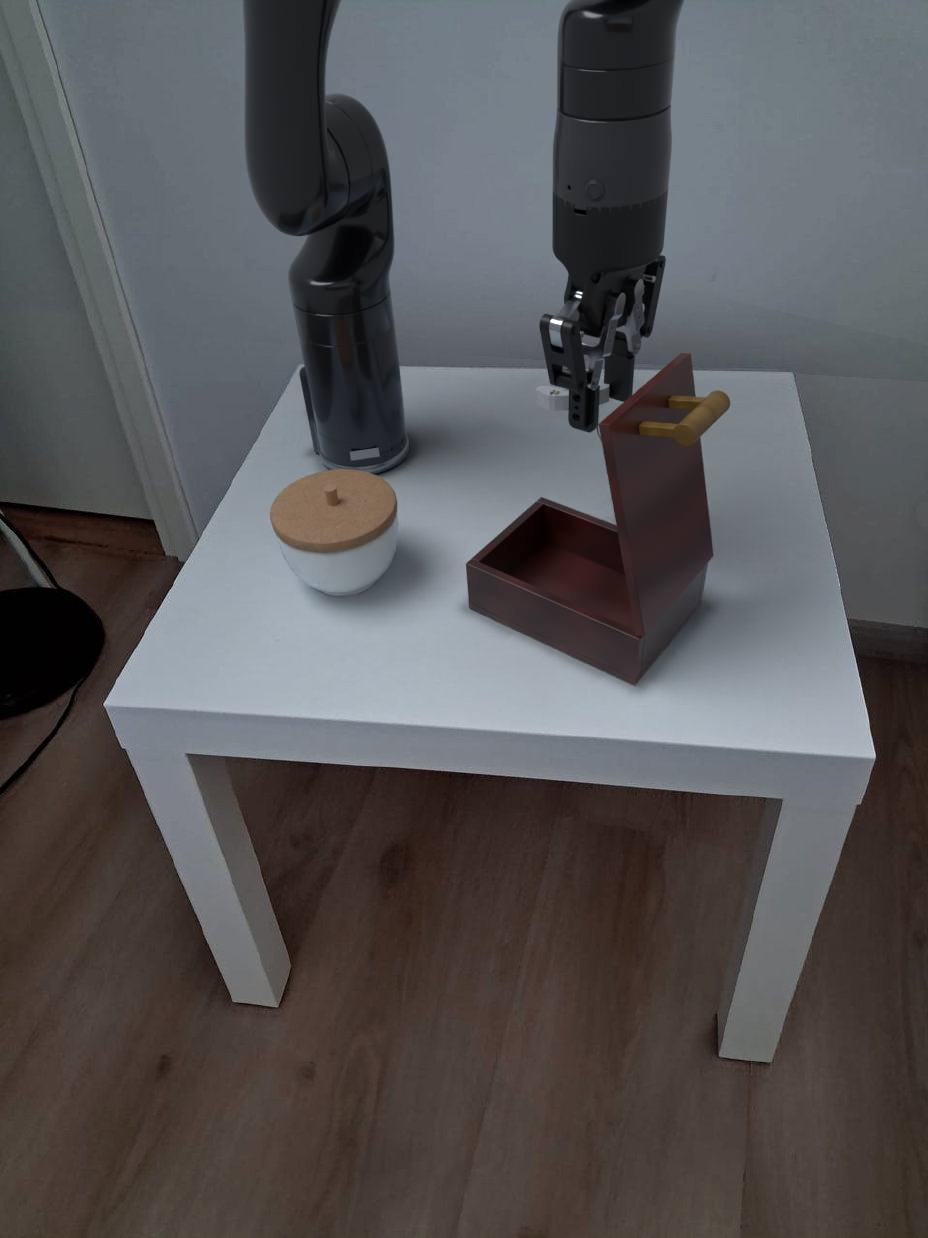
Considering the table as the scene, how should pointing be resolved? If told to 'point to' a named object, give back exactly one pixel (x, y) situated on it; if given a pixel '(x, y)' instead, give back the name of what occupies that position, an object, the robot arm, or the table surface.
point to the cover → (661, 487)
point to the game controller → (565, 397)
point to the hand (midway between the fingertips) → (600, 411)
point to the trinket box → (337, 529)
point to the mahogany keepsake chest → (572, 590)
